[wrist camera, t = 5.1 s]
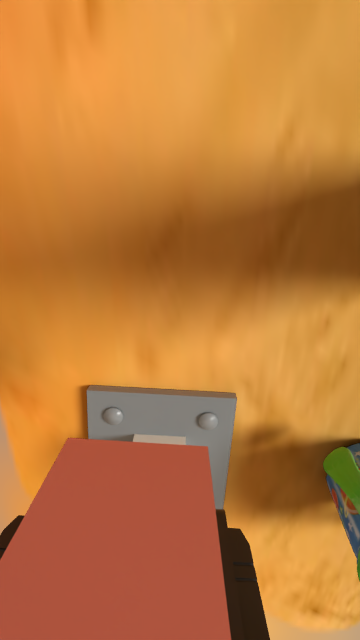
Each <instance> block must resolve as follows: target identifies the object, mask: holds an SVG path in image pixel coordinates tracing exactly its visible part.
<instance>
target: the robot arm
mask: <svg viewBox="0 0 360 640" xmlns="http://www.w3.org/2000/svg"><path fill="white" fill-rule="evenodd" d="M215 510H216V518H217V527H218V535H219V543H220V551H221V560H222V568H223V576H224V585H225V593H226V601H227V610H228V618H229V626H230V634H231V640H270V638H269V633H268V628H267V624H266V619H265V614H264V610H263V605H262V600H261V596H260V591H259V587H258V583H257V577H256V573H255V568H254V566H253V559H252V554H251V550H250V545H249V543H248V541H247V540H246V538H245V536H244V535H243V533H242V531H241V530H240V529H236V528H228V527H227V521H226V515H225V511H224V509H215ZM23 518H24V516H20V515H19V516H17V518H15V519H14V520H13V521H12V522H11V523H10V524H9V525H8V526H7V527H6V528H5V529H4V530H3V532H2V533H1V535H0V559H1V558H2V556H3V554H4V552H5V550H6V549H7V547H8V545H9V543H10V541H11V540H12V538H13V536H14V534H15V532H16V531H17V529H18V527H19V525H20V523H21V522H22V520H23Z"/></svg>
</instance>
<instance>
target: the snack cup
mask: <svg viewBox="0 0 360 640" xmlns="http://www.w3.org/2000/svg"><path fill="white" fill-rule="evenodd" d="M323 467H324V470H325V472H326V473H327V476H326V480H327V484H328V487H329V490H330V493H331V496H332V498H333V500H334V503H335V505H336V508H337V510H338V512H339V515H340V518H341V521H342V524H343V526H344V529H345V531H346V534H347V536H348V539H349V541H350V544H351V546H352V549H353V552H354V553H355V556H356V558H357V572H358V577H359V581H360V443H357V444H354V445H351V446H349V447H347V448H346V447H340V448H337V449H334V450H333V451H332V452H331V453H330V454H329V455H328V456H327V457H326V458H325V460H324V462H323Z"/></svg>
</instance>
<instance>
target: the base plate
mask: <svg viewBox="0 0 360 640" xmlns="http://www.w3.org/2000/svg"><path fill="white" fill-rule="evenodd" d="M236 403H237V397H236V394H235V393H225V392H207V391H189V390H171V389H152V388H134V387H116V386H98V385H90V386H89V387H88V389H87V413H88V439H96V440H112V441H128V442H133V438H134V434H142V435H161V436H179V437H186V445H193V446H208V452H209V460H210V468H211V477H212V485H213V493H214V502H215V509H223V505H224V497H225V489H226V482H227V474H228V466H229V458H230V450H231V442H232V434H233V426H234V418H235V410H236Z"/></svg>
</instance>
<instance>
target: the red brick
mask: <svg viewBox="0 0 360 640" xmlns="http://www.w3.org/2000/svg"><path fill="white" fill-rule="evenodd" d="M0 640H231V634H230V626H229V618H228V610H227V601H226V593H225V585H224V576H223V568H222V560H221V551H220V543H219V535H218V527H217V518H216V510H215V502H214V493H213V485H212V477H211V468H210V460H209V452H208V446H193V445H177V444H160V443H144V442H128V441H112V440H96V439H79V438H68V439H67V441H66V443H65V444H64V446H63V448H62V450H61V452H60V453H59V455H58V457H57V459H56V461H55V462H54V464H53V466H52V468H51V470H50V471H49V473H48V475H47V477H46V479H45V480H44V482H43V484H42V486H41V488H40V489H39V491H38V493H37V495H36V496H35V498H34V500H33V502H32V504H31V505H30V507H29V509H28V511H27V513H26V515H25V516H24V518H23V520H22V522H21V523H20V525H19V527H18V529H17V531H16V532H15V534H14V536H13V538H12V540H11V541H10V543H9V545H8V547H7V549H6V550H5V552H4V554H3V556H2V558H1V559H0Z"/></svg>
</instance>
